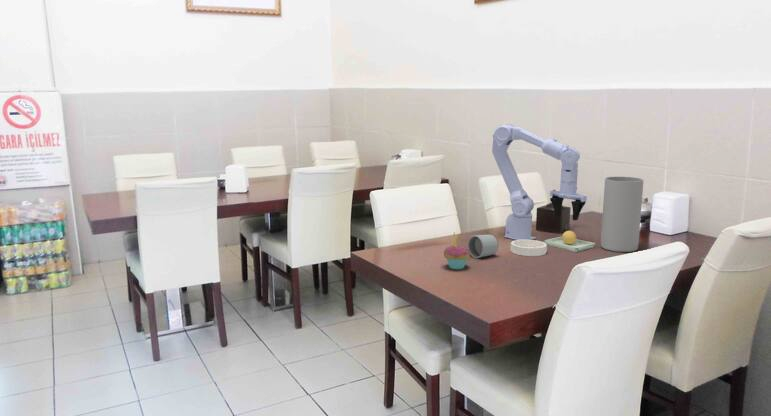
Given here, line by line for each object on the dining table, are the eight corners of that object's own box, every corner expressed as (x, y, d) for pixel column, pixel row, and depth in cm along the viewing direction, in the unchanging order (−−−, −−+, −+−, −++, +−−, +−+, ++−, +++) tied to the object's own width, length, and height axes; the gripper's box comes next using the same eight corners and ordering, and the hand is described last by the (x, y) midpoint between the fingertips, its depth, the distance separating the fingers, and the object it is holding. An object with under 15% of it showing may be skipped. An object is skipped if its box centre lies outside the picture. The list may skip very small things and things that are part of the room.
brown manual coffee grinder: (560, 234, 228) (563, 189, 225) (534, 230, 235) (536, 186, 232) (576, 227, 240) (579, 184, 236) (551, 223, 247) (554, 182, 243)
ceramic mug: (500, 256, 197) (500, 234, 196) (482, 260, 193) (482, 237, 191) (478, 250, 206) (478, 229, 205) (461, 253, 201) (461, 232, 200)
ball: (558, 243, 211) (559, 230, 210) (568, 241, 214) (568, 228, 213) (569, 246, 207) (570, 233, 206) (579, 244, 210) (579, 231, 209)
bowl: (503, 250, 204) (504, 243, 204) (526, 245, 211) (526, 238, 211) (530, 258, 195) (531, 250, 194) (553, 252, 202) (553, 244, 201)
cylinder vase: (594, 248, 207) (599, 179, 202) (608, 242, 216) (613, 175, 211) (630, 254, 198) (635, 182, 194) (643, 247, 207) (648, 178, 202)
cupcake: (462, 272, 179) (463, 235, 177) (438, 268, 184) (438, 231, 182) (474, 265, 187) (474, 229, 184) (450, 261, 191) (450, 226, 189)
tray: (544, 244, 213) (544, 240, 213) (562, 239, 219) (562, 235, 219) (576, 252, 202) (577, 248, 202) (595, 247, 208) (595, 243, 208)
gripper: (545, 180, 213) (543, 216, 216) (579, 185, 202) (576, 223, 204) (557, 178, 217) (555, 213, 220) (591, 183, 206) (588, 220, 208)
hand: (566, 218), depth 212 cm, fingers open, 7 cm apart
